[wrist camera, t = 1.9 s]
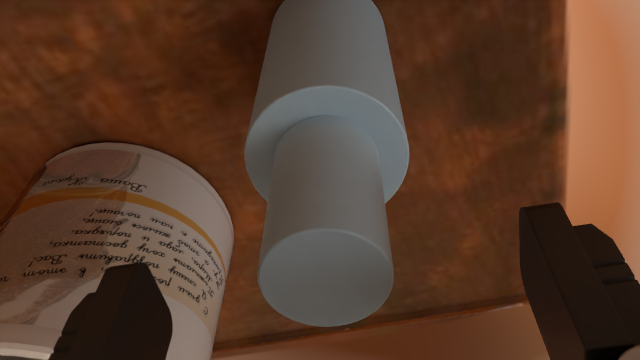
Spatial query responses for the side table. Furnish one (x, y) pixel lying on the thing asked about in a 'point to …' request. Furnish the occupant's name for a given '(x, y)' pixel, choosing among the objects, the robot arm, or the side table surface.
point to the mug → (112, 245)
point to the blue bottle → (326, 161)
